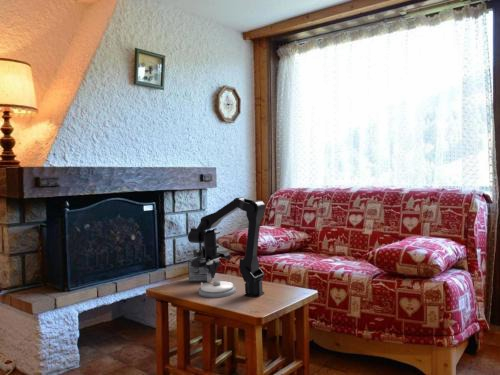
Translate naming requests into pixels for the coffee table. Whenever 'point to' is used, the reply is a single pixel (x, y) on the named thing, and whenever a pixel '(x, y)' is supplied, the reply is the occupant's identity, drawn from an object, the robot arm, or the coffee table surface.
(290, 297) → the coffee table surface
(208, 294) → the base plate
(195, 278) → the small box
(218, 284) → the dial
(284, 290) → the coffee table surface
